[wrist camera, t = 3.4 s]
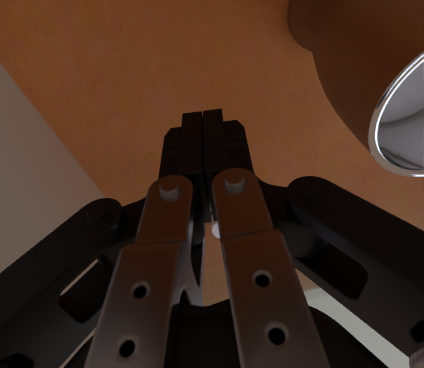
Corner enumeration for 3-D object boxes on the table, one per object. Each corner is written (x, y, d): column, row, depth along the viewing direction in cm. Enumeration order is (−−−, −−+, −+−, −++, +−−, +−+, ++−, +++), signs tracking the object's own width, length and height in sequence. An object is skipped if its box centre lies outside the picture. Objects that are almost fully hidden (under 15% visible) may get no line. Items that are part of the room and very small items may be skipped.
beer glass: (266, -13, 21) (344, 79, 10) (369, -81, 18) (624, -61, 7) (298, 71, 25) (378, 202, 14) (386, 24, 22) (564, 136, 12)
